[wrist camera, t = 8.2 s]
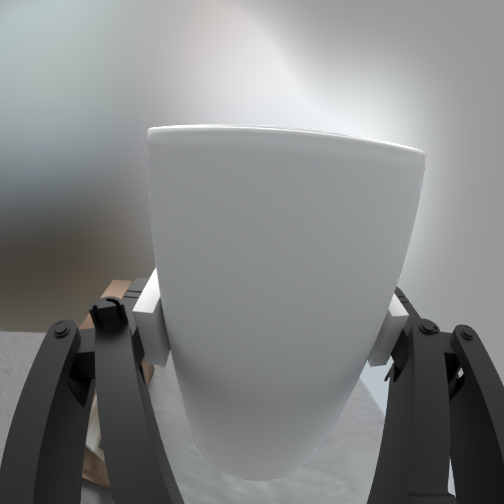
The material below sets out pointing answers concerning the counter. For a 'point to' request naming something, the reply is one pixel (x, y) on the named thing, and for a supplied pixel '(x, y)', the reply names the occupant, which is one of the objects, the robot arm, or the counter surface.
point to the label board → (93, 449)
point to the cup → (274, 278)
